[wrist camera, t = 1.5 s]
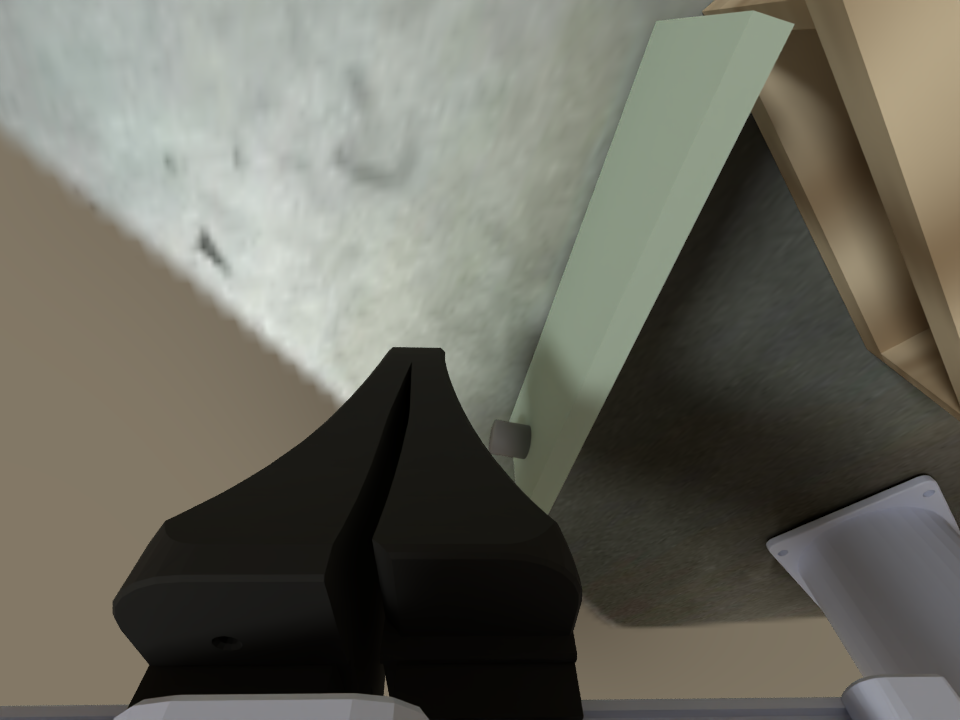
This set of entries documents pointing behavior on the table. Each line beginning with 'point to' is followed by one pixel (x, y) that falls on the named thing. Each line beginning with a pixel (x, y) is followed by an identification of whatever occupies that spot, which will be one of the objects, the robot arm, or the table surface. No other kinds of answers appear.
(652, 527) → the table surface
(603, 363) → the cabinet door
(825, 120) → the cabinet
